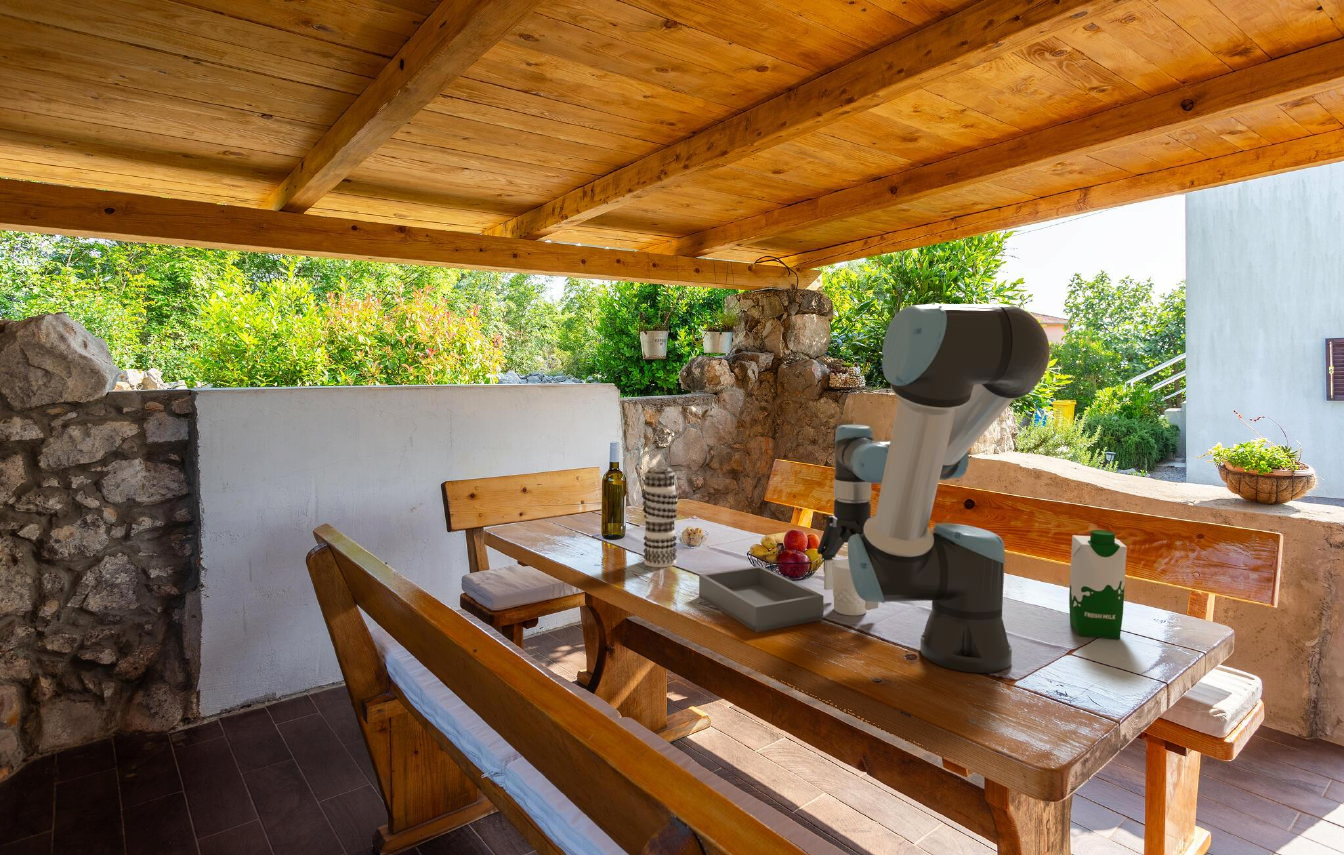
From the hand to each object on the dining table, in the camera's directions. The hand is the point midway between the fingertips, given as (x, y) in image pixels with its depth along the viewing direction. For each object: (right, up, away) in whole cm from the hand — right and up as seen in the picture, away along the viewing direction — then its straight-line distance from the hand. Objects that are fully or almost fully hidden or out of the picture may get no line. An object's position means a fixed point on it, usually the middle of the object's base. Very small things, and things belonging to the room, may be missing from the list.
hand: (850, 598), depth 156 cm
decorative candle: (-41, +1, +37) cm, 55 cm away
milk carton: (+44, -4, -12) cm, 46 cm away
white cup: (0, -3, 0) cm, 3 cm away
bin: (-19, -2, +2) cm, 19 cm away
